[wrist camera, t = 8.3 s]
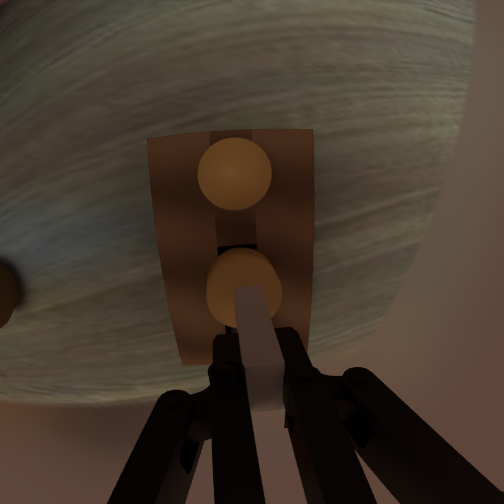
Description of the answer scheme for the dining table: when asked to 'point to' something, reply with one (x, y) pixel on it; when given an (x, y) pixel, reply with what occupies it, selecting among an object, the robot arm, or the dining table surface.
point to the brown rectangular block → (232, 230)
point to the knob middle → (240, 281)
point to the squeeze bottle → (7, 294)
